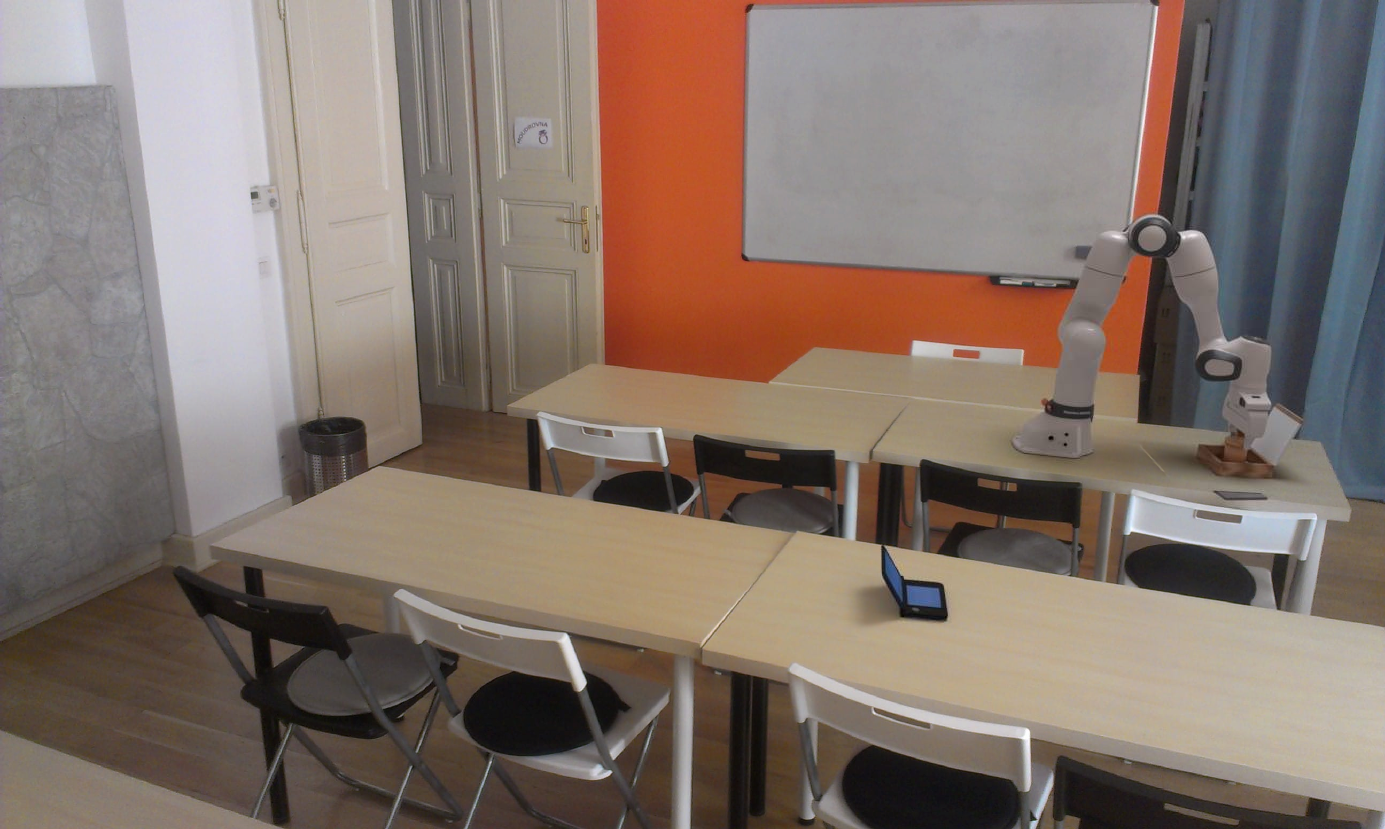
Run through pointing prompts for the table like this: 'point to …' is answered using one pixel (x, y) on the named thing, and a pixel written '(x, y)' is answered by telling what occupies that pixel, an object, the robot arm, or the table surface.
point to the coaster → (1241, 495)
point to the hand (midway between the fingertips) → (1239, 443)
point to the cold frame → (1234, 463)
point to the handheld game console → (914, 593)
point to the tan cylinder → (1234, 450)
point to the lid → (1277, 434)
